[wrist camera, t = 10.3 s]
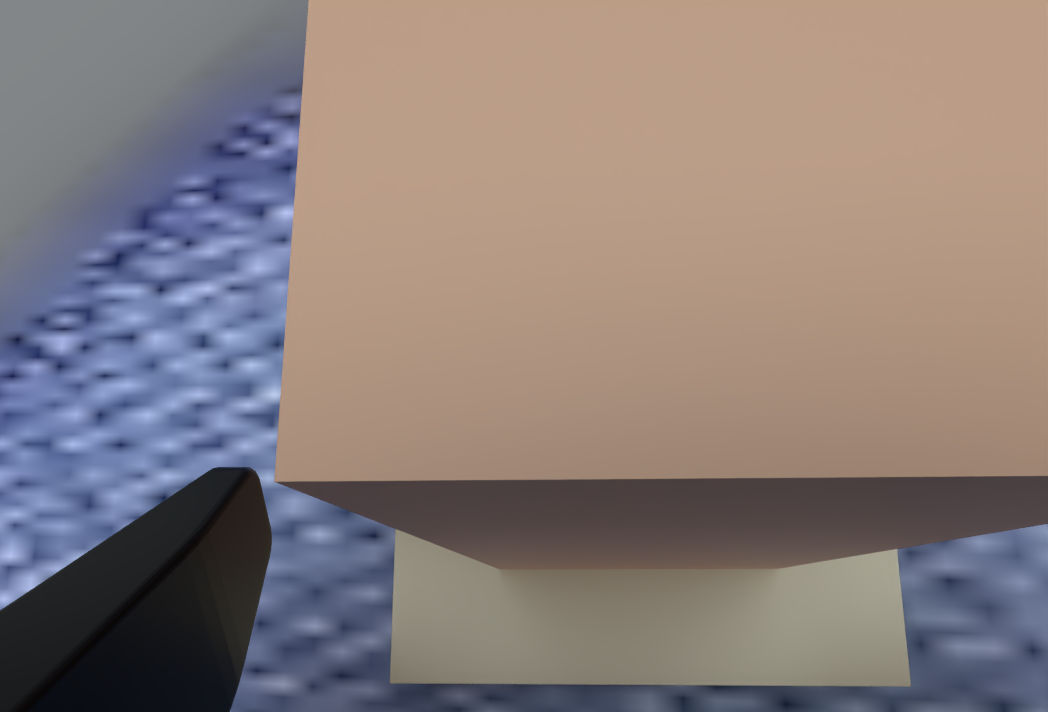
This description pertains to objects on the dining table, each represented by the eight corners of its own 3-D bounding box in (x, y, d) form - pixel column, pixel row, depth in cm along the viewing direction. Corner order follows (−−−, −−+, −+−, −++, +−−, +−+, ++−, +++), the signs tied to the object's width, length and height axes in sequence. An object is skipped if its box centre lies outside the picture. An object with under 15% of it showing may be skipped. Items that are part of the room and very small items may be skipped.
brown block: (779, 568, 16) (1346, 473, 4) (499, 569, 17) (275, 482, 4) (760, 301, 18) (1151, -359, 5) (500, 306, 18) (331, -309, 6)
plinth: (859, 672, 18) (911, 686, 16) (419, 670, 19) (389, 683, 16) (821, 256, 21) (860, 200, 18) (431, 264, 21) (407, 212, 18)
